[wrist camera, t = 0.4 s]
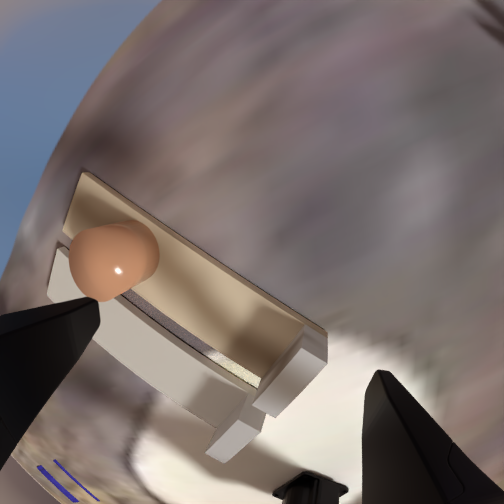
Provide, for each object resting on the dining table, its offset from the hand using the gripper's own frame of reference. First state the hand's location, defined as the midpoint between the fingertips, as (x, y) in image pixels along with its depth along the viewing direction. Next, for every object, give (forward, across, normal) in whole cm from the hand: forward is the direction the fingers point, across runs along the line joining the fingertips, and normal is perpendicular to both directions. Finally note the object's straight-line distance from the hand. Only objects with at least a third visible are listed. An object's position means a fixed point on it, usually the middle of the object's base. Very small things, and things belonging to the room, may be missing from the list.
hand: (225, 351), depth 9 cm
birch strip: (+14, +7, +5) cm, 16 cm away
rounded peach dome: (+13, +11, +4) cm, 17 cm away
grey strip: (+13, +10, +13) cm, 21 cm away
